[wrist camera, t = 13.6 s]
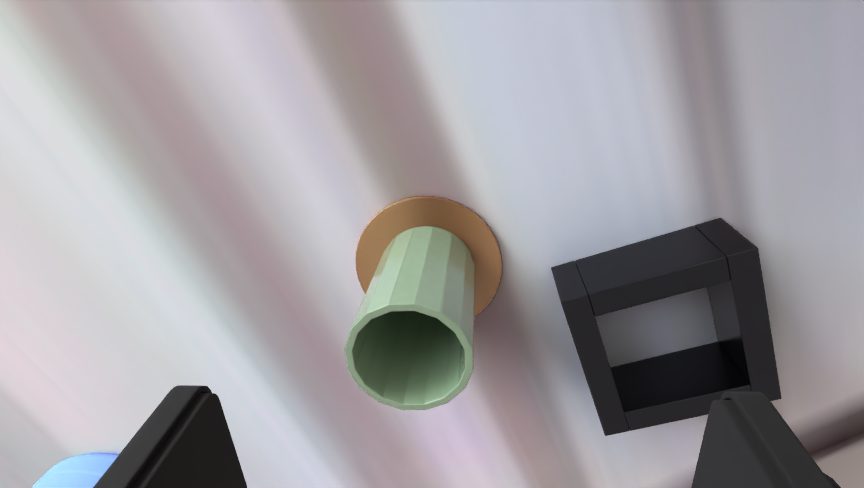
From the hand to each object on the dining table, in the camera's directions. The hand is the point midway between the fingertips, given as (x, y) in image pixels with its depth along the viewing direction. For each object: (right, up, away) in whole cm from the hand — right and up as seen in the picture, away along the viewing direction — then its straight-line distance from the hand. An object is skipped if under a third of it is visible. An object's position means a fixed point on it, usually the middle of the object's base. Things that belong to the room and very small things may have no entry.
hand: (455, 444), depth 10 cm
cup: (-1, +2, +24) cm, 24 cm away
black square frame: (+15, -1, +24) cm, 28 cm away
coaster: (-1, +2, +25) cm, 25 cm away
